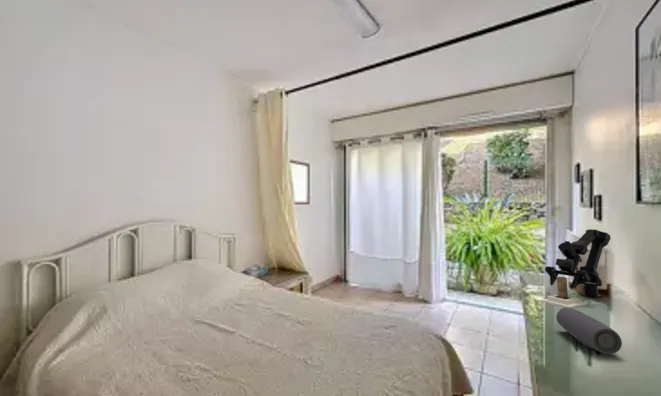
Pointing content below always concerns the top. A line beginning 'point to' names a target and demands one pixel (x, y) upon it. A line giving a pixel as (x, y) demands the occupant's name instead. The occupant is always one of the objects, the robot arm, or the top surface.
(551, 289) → the white cup
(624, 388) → the top surface
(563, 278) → the dowel
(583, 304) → the socket
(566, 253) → the robot arm
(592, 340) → the bluetooth speaker
